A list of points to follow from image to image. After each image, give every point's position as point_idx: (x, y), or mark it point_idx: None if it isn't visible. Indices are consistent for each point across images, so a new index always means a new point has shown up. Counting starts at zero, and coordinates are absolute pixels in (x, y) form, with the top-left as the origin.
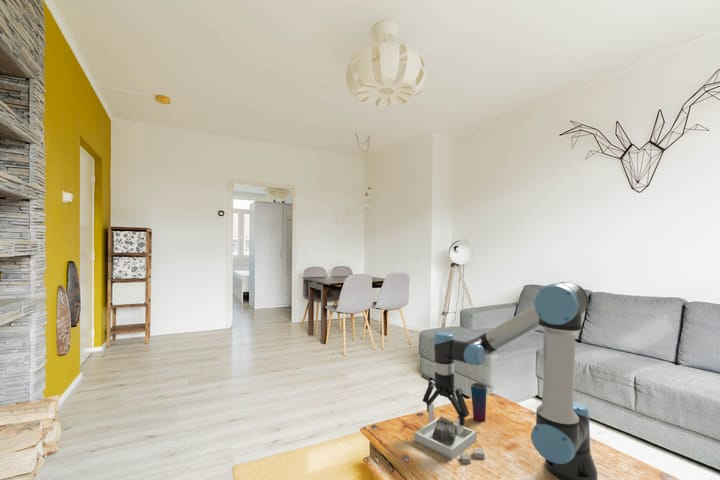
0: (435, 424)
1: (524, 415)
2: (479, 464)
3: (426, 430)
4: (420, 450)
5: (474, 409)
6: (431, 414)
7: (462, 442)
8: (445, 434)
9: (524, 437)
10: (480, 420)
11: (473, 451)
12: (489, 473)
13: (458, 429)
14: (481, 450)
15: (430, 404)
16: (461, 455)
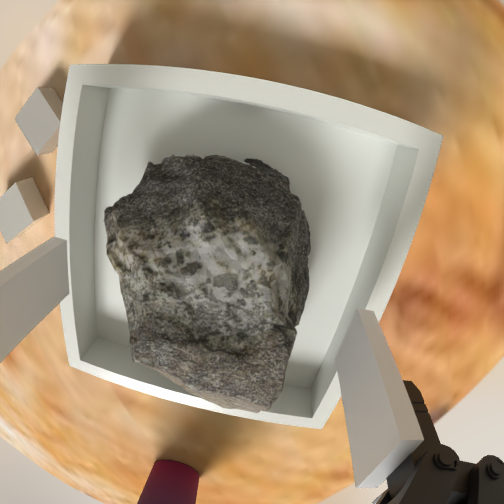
0: (331, 364)
1: (95, 491)
2: (5, 140)
3: (372, 262)
4: (329, 44)
5: (174, 502)
6: (362, 375)
7: (55, 208)
8: (159, 202)
9: (21, 404)
10: (160, 465)
11: (29, 203)
12: None
13: (34, 254)
14: (6, 229)
15: (397, 469)
16: (52, 112)
